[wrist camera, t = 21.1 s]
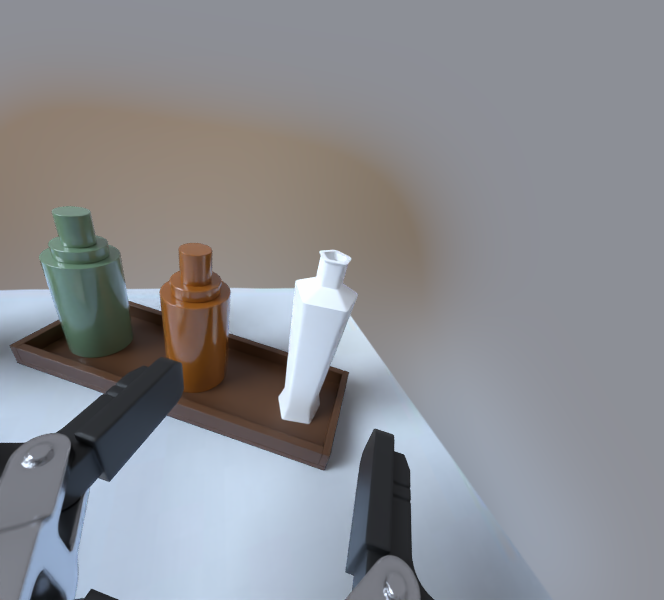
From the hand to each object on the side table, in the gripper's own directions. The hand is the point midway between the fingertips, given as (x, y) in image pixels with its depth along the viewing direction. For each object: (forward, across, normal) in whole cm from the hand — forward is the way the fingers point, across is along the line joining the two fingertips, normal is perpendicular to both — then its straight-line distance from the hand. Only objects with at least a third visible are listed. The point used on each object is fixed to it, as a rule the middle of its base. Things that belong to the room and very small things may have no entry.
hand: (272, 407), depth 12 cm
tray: (+10, +10, +13) cm, 19 cm away
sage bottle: (+10, +20, +12) cm, 26 cm away
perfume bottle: (+10, 0, +12) cm, 16 cm away
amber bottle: (+10, +10, +12) cm, 19 cm away
